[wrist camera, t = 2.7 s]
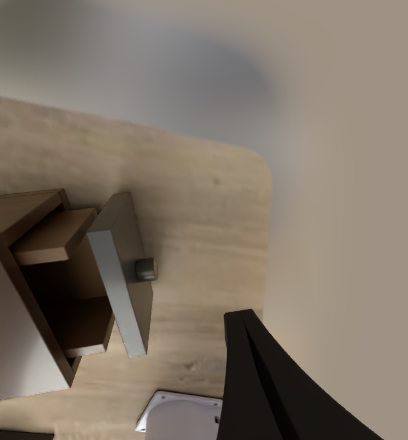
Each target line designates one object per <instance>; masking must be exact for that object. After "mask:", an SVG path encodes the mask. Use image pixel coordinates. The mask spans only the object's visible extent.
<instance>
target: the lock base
mask: <svg viewBox="0 0 408 440" xmlns="http://www.w3.org/2000/svg"><path fill="white" fill-rule="evenodd" d="M53 437H54V435H50V434H36V433H23V432H10V431H0V440H53Z"/></svg>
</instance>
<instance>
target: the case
mask: <svg viewBox="0 0 408 440" xmlns="http://www.w3.org/2000/svg"><path fill="white" fill-rule="evenodd" d="M63 211H71V208H70V205H69V202H68V199H67V197H66V194H65V191H64V189H63V188H62V189H53V190H44V191H35V192H26V193H17V194H9V195H0V401H2V400H7V399H13V398H19V397H24V396H30V395H35V394H41V393H47V392H52V391H58V390H64V389H69V388H71V385H72V383H73V380H74V377H75V374H76V372H77V369H78V366H79V363H80V361H81V358H82V356H79V357H73V358H67V359H66V358H65V356H64V354H63V352H62V350H61V348H60V346H59V344H58V342H57V340H56V338H55V336H54V334H53V333H52V331H51V329H50V327H49V325H48V323H47V321H46V319H45V317H44V315H43V313H42V311H41V309H40V308H39V306H38V304H37V302H36V300H35V298H34V296H33V294H32V292H31V290H30V288H29V286H28V284H27V283H26V281H25V279H24V277H23V275H22V273H21V271H20V269H19V267H18V265H17V263H16V261H15V260H14V258H13V256H12V254H11V252H10V250H9V248H8V246H10V245H11V244H12V243H14V242H15V241H16V240H17V239H18V238H20V237H21V236H22V235H23V234H24V233H26V232H27V231H28V230H29V229H31V228H32V227H33V226H34V225H35V224H37V223H38V222H39V221H40V220H41V219H43V218H44V217H45V216H46V215H48V214H49V213H54V212H63Z"/></svg>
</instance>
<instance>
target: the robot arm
mask: <svg viewBox="0 0 408 440" xmlns="http://www.w3.org/2000/svg"><path fill="white" fill-rule="evenodd" d="M224 328H225V342H226V347H227V363H226V376H225V386H224V395H223V400H221V399H214V398H207V397H199V396H192V395H185V394H178V393H171V392H164V391H157V392H156V393H155V394H154V396H153V398H152V400H151V401H150V403H149V405H148V406H147V408H146V410H145V411H144V413H143V415H142V416H141V418H140V420H139V421H138V423H137V425H136V429H135V430H136V431H140V432H145V440H384V439H382V438H381V437H380V436H378V435H377V434H376V433H374V432H373V431H372V430H371V429H369V428H368V427H367V426H365V425H364V424H363V423H362V422H360V421H359V420H358V419H357V418H355V417H354V416H353V415H352V414H351V413H350V412H348V411H347V410H346V409H345V408H344V407H342V406H341V405H340V404H338V402H336V401H335V400H334V399H333V398H332V397H331V396H330V395H328V394H327V393H326V392H325V391H324V390H323V389H322V388H321V387H320V386H319V385H318V384H316V383H315V382H314V381H313V380H312V379H311V378H310V377H309V376H308V375H307V374H306V373H305V372H304V371H303V370H302V369H301V368H300V367H299V366H298V365H297V363H296V362H295V361H294V360H293V359H292V358H291V357H290V356H289V355H288V354H287V353H286V352H285V351H284V349H283V348H282V347H281V346H280V345H279V344H278V342H277V341H276V340H275V339H274V338H273V336H272V335H271V334H270V333H269V332H268V330H267V329H266V328H265V326H264V325H263V324H262V322H261V321H260V320H259V318H258V317H257V315H256V314H255V312H254V311H253V310H252V309H247V310H240V311H234V312H228V313H225V314H224Z"/></svg>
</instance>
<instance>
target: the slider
mask: <svg viewBox="0 0 408 440" xmlns="http://www.w3.org/2000/svg"><path fill="white" fill-rule="evenodd" d="M8 248H9V250H10V252H11V254H12V256H13V258H14V260H15V261H16V263H17V265H18V267H19V269H20V271H21V273H22V275H23V277H24V279H25V281H26V283H27V284H28V286H29V288H30V290H31V292H32V294H33V296H34V298H35V300H36V302H37V304H38V306H39V308H40V309H41V311H42V313H43V315H44V317H45V319H46V321H47V323H48V325H49V327H50V329H51V331H52V333H53V334H54V336H55V338H56V340H57V342H58V344H59V346H60V348H61V350H62V352H63V354H64V356H65V358H66V359H67V358H73V357H79V356H85V355H91V354H97V353H103V352H106V350H107V346H108V343H109V339H110V335H111V332H112V328H113V324H114V321H115V319H116V322H117V325H118V328H119V331H120V334H121V337H122V340H123V343H124V346H125V349H126V352H127V354H128V357H129V358H134V357H140V356H145V355H147V349H148V340H149V330H150V320H151V310H152V301H153V291H152V286H151V282H150V281H155V280H157V278H158V268H157V262H156V258H155V257H149V258H145V256H144V251H143V247H142V243H141V238H140V234H139V230H138V225H137V221H136V216H135V212H134V208H133V203H132V199H131V195H130V193H121V194H113V195H112V197H111V198H110V200H109V201H108V202H107V204H106V205H105V207H104V208H103V209H102V211H101V212H100V214H99V215H97V212H96V209H95V208H88V209H79V210H71V211H63V212H54V213H49V214H48V215H46V216H45V217H44V218H43V219H41V220H40V221H39V222H38V223H37V224H35V225H34V226H33V227H32V228H31V229H29V230H28V231H27V232H26V233H24V234H23V235H22V236H21V237H20V238H18V239H17V240H16V241H15V242H14V243H12V244H11V245H10V246H8Z"/></svg>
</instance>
